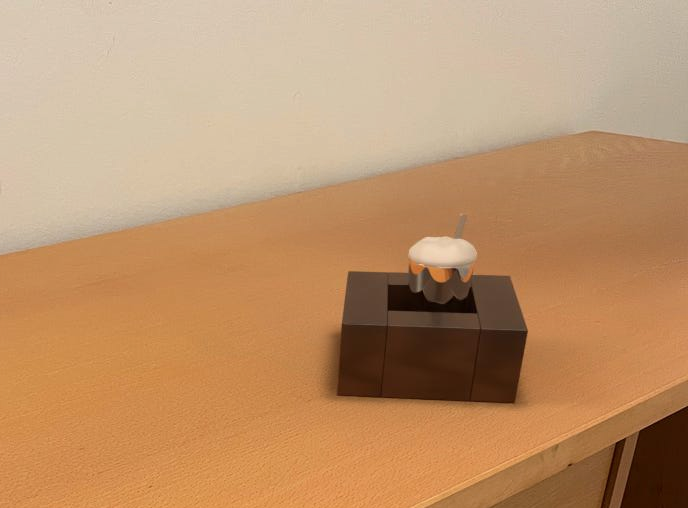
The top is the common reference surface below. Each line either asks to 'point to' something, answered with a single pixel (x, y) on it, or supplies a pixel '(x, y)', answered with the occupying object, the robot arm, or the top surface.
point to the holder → (430, 342)
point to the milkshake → (440, 273)
